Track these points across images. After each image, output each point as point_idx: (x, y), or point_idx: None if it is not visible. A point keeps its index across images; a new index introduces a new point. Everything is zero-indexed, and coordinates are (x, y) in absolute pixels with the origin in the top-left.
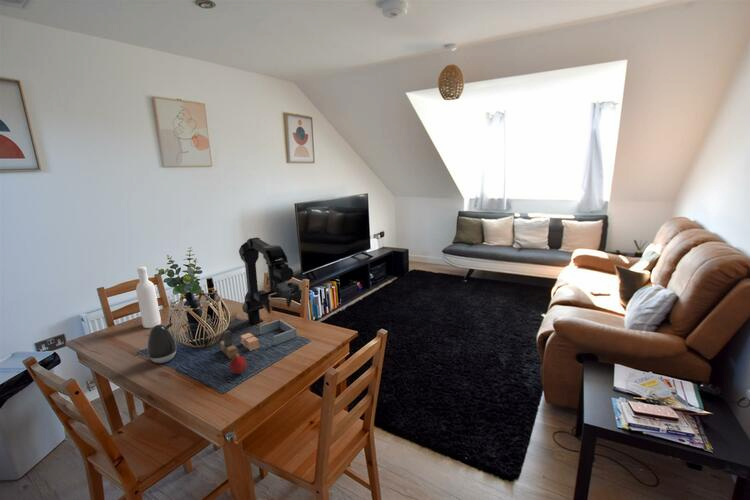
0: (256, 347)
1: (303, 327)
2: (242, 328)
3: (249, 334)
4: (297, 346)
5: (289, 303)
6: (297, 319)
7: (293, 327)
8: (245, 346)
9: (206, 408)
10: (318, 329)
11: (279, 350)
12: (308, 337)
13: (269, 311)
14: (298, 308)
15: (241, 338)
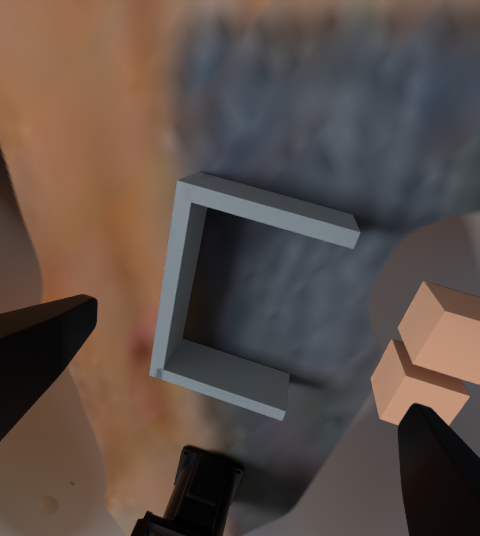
0: (446, 291)
1: (97, 228)
2: (286, 479)
3: (400, 405)
4: (295, 54)
5: (36, 317)
6: None
7: (174, 216)
8: None
9: None
10: (50, 120)
11: (402, 132)
12: (158, 92)
13: (446, 432)
14: None
15: None
